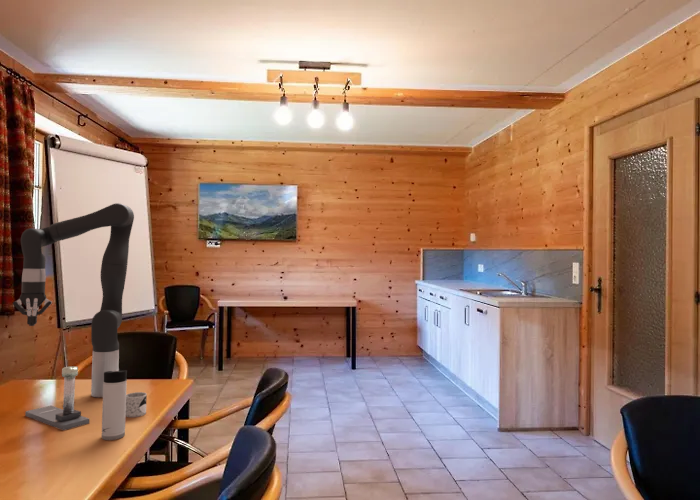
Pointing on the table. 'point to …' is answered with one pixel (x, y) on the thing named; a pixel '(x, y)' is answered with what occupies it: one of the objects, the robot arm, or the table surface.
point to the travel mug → (114, 405)
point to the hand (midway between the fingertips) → (32, 325)
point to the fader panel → (49, 415)
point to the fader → (69, 395)
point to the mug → (136, 404)
